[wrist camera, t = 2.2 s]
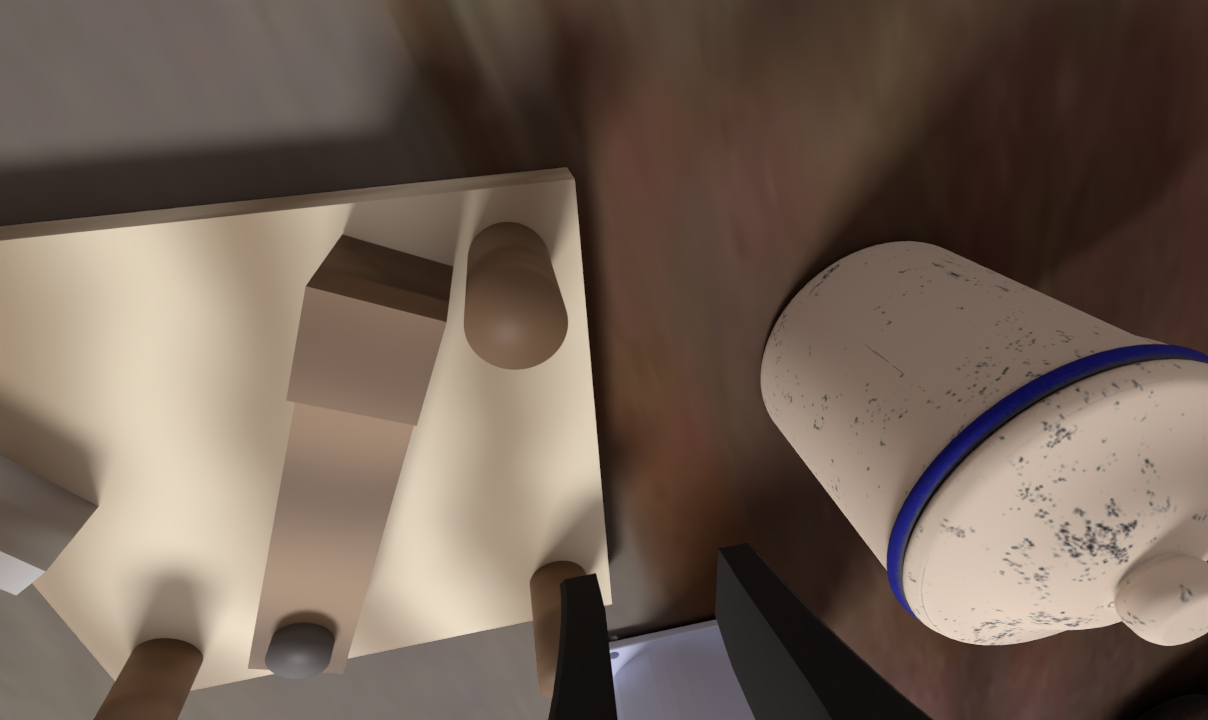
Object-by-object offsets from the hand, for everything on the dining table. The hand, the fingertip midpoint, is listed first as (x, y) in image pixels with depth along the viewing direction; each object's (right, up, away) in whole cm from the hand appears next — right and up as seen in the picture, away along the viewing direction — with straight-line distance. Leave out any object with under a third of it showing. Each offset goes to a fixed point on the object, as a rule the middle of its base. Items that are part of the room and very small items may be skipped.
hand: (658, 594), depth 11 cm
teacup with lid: (+10, +6, +10) cm, 15 cm away
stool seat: (-10, +2, +8) cm, 13 cm away
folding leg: (-9, +2, +6) cm, 11 cm away
